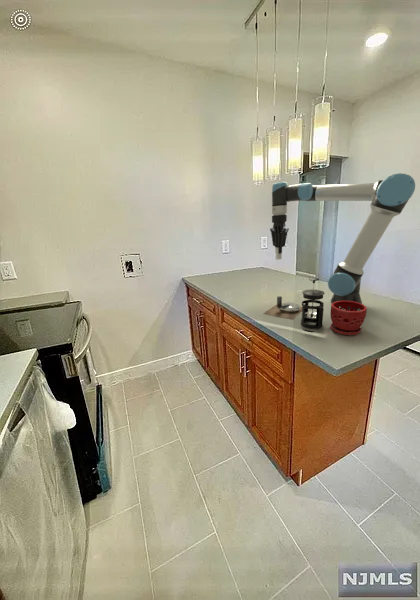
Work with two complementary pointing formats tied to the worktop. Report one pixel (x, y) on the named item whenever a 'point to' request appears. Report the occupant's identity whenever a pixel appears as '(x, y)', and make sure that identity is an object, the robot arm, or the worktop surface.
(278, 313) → the board
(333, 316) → the plant pot
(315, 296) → the french press
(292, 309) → the silver dish with post
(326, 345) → the worktop surface
